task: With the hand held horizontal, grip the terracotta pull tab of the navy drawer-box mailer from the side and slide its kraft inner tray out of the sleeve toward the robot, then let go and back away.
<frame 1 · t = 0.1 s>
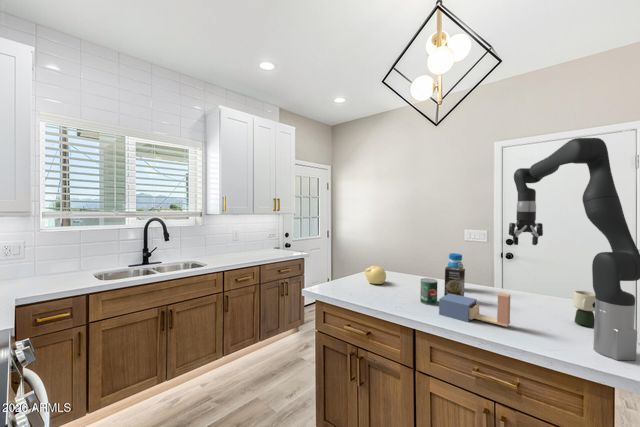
hand: (525, 244, 141), 29 cm above the worktop, tool pointing down, fingers open, 8 cm apart
coffee box: (454, 300, 151), on the worktop
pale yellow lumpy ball: (375, 283, 182), on the worktop
canned tomato: (428, 302, 147), on the worktop
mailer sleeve: (457, 314, 131), on the worktop
character mug: (584, 325, 120), on the worktop
beverage bottle: (454, 289, 169), on the worktop
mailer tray: (477, 303, 125), point 7 cm above the worktop, slide at 1.5 cm
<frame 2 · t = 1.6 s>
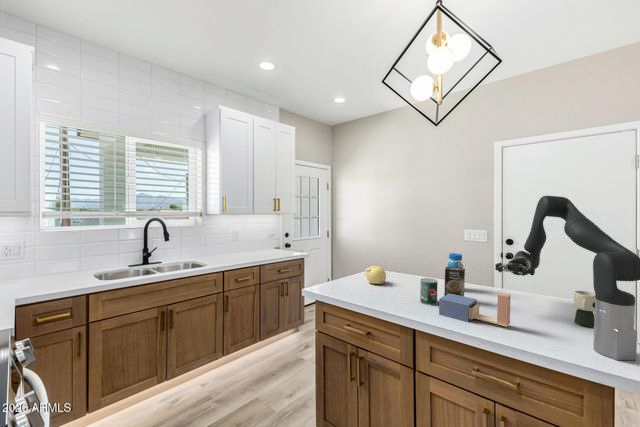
hand: (511, 271, 126), 20 cm above the worktop, tool horizontal, fingers open, 8 cm apart
nothing on the worktop moved.
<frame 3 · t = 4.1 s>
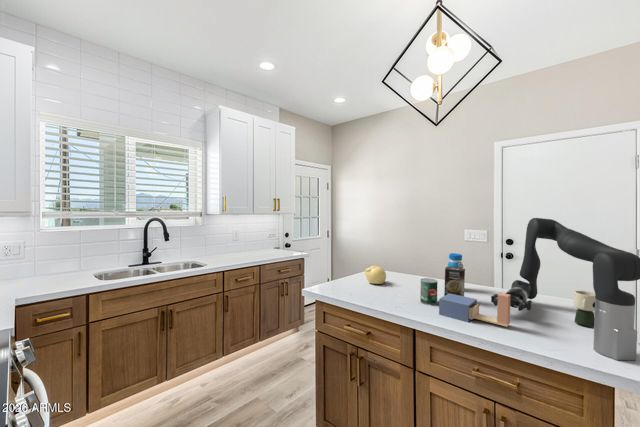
hand: (507, 305, 122), 7 cm above the worktop, tool horizontal, fingers open, 8 cm apart
nothing on the worktop moved.
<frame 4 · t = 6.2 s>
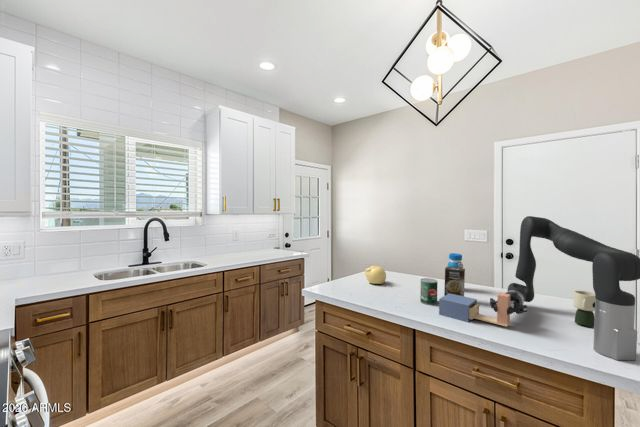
hand: (501, 310, 116), 7 cm above the worktop, tool horizontal, fingers closed on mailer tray, 3 cm apart
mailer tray: (477, 303, 125), point 7 cm above the worktop, slide at 1.5 cm, touching gripper
everything else where it was.
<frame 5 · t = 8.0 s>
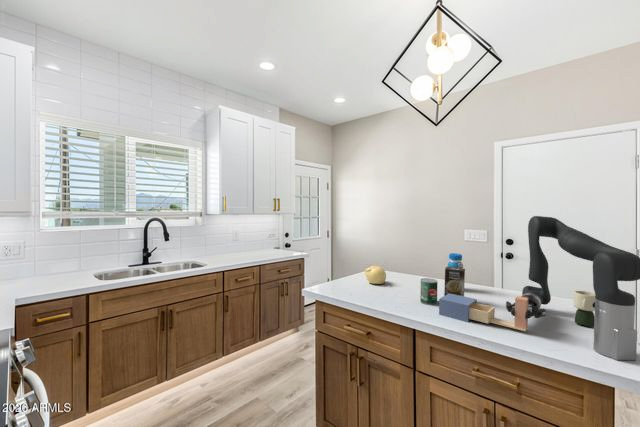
hand: (519, 314, 112), 7 cm above the worktop, tool horizontal, fingers closed on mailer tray, 3 cm apart
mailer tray: (493, 306, 121), point 7 cm above the worktop, slide at 7.4 cm, touching gripper
everything else where it was.
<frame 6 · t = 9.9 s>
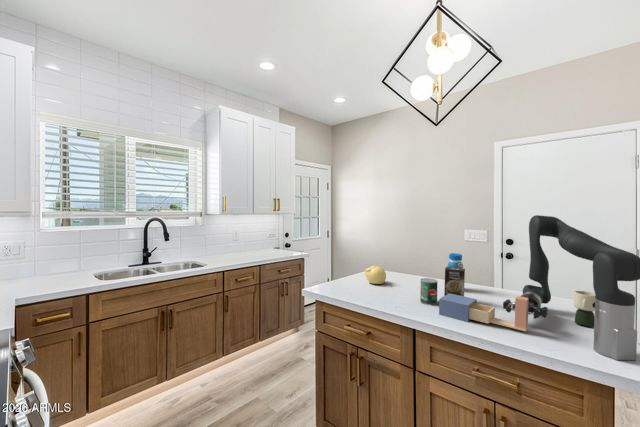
hand: (521, 312, 113), 7 cm above the worktop, tool horizontal, fingers open, 8 cm apart
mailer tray: (493, 306, 121), point 7 cm above the worktop, slide at 7.5 cm
everything else where it was.
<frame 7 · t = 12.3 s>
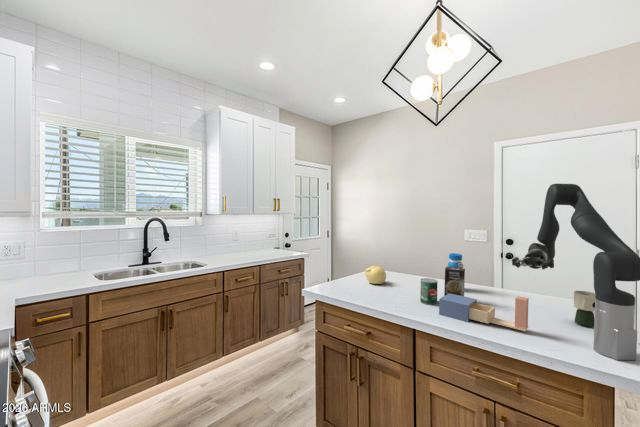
hand: (529, 266, 121), 23 cm above the worktop, tool horizontal, fingers open, 8 cm apart
nothing on the worktop moved.
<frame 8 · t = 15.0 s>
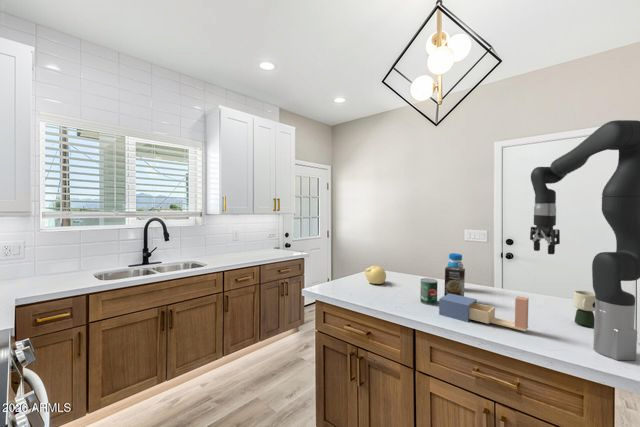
hand: (543, 252, 126), 28 cm above the worktop, tool pointing down, fingers open, 8 cm apart
nothing on the worktop moved.
at the end: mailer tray slide at 7.5 cm; the gripper is holding nothing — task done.
